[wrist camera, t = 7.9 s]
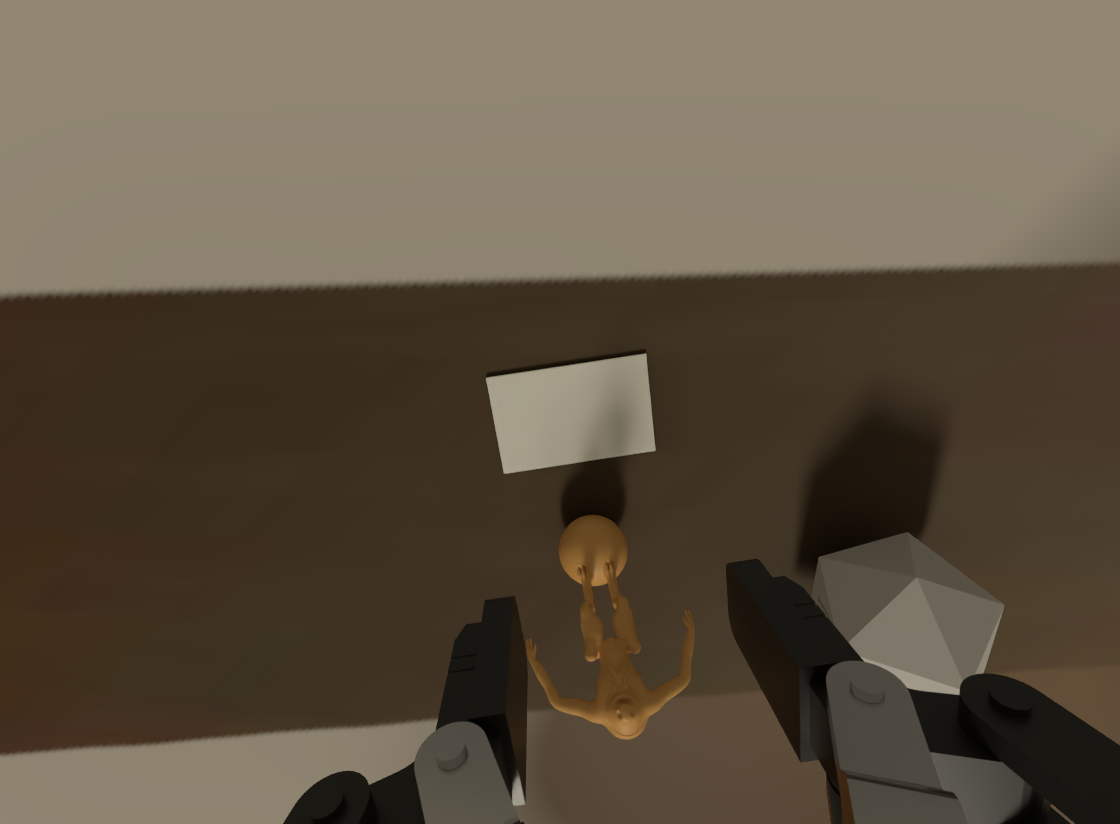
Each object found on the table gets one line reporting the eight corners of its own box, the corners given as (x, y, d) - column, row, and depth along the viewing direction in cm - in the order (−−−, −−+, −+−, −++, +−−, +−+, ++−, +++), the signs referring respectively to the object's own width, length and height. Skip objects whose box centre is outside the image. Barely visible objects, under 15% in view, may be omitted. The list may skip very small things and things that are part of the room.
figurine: (651, 491, 31) (720, 625, 20) (663, 576, 33) (732, 744, 21) (516, 516, 31) (507, 663, 20) (535, 599, 33) (536, 780, 21)
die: (753, 558, 33) (842, 679, 23) (878, 483, 32) (1026, 577, 22) (811, 647, 35) (915, 791, 26) (931, 579, 34) (1086, 703, 25)
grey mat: (645, 353, 29) (646, 353, 29) (654, 449, 31) (655, 450, 30) (486, 377, 29) (486, 378, 29) (504, 472, 30) (504, 473, 30)
